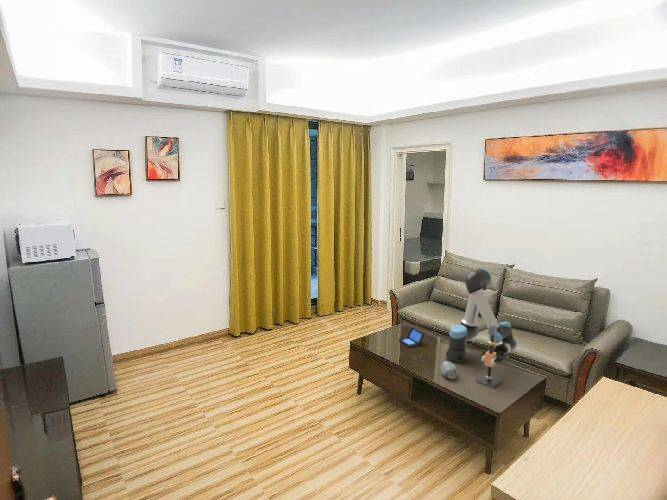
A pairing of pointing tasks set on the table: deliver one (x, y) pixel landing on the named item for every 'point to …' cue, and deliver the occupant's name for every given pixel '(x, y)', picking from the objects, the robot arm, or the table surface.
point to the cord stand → (487, 378)
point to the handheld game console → (412, 338)
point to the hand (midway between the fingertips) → (486, 360)
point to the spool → (448, 370)
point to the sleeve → (489, 359)
